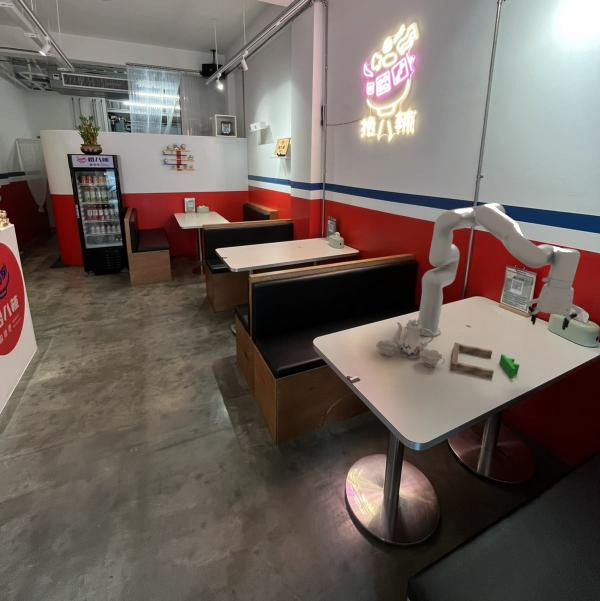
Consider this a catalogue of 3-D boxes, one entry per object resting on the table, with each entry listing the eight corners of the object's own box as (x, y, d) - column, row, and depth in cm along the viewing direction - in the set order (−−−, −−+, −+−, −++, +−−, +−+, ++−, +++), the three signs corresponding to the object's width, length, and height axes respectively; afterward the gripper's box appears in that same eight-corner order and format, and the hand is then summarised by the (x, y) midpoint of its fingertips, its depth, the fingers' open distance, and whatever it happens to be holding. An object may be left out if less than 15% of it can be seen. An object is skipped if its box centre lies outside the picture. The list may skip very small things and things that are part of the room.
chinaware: (372, 362, 155) (375, 328, 147) (379, 341, 169) (382, 309, 161) (442, 375, 146) (449, 340, 138) (443, 353, 160) (449, 319, 152)
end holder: (450, 369, 147) (451, 363, 146) (453, 348, 164) (454, 342, 163) (492, 379, 141) (493, 372, 140) (490, 355, 158) (492, 349, 157)
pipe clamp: (520, 379, 142) (523, 369, 140) (510, 378, 142) (512, 368, 140) (508, 364, 152) (510, 354, 150) (498, 363, 153) (501, 353, 151)
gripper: (532, 282, 134) (521, 324, 140) (590, 289, 126) (577, 334, 132) (531, 276, 140) (521, 318, 146) (587, 283, 132) (574, 327, 138)
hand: (548, 326), depth 139 cm, fingers open, 9 cm apart
